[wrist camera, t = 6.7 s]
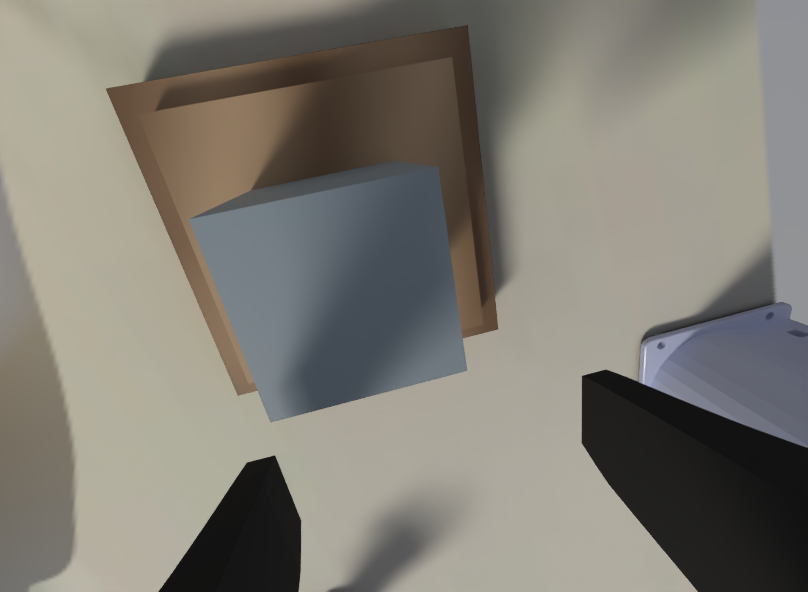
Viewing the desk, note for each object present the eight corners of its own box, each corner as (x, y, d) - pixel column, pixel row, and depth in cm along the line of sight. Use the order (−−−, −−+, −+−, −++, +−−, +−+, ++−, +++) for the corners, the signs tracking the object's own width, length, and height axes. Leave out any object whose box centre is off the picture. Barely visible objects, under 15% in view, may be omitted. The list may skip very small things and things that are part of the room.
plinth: (450, 40, 15) (477, 15, 12) (482, 312, 19) (507, 339, 17) (136, 97, 14) (86, 83, 11) (247, 371, 18) (232, 409, 16)
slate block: (394, 160, 13) (438, 166, 8) (418, 291, 15) (466, 370, 10) (250, 190, 13) (188, 219, 7) (294, 320, 15) (270, 422, 9)
